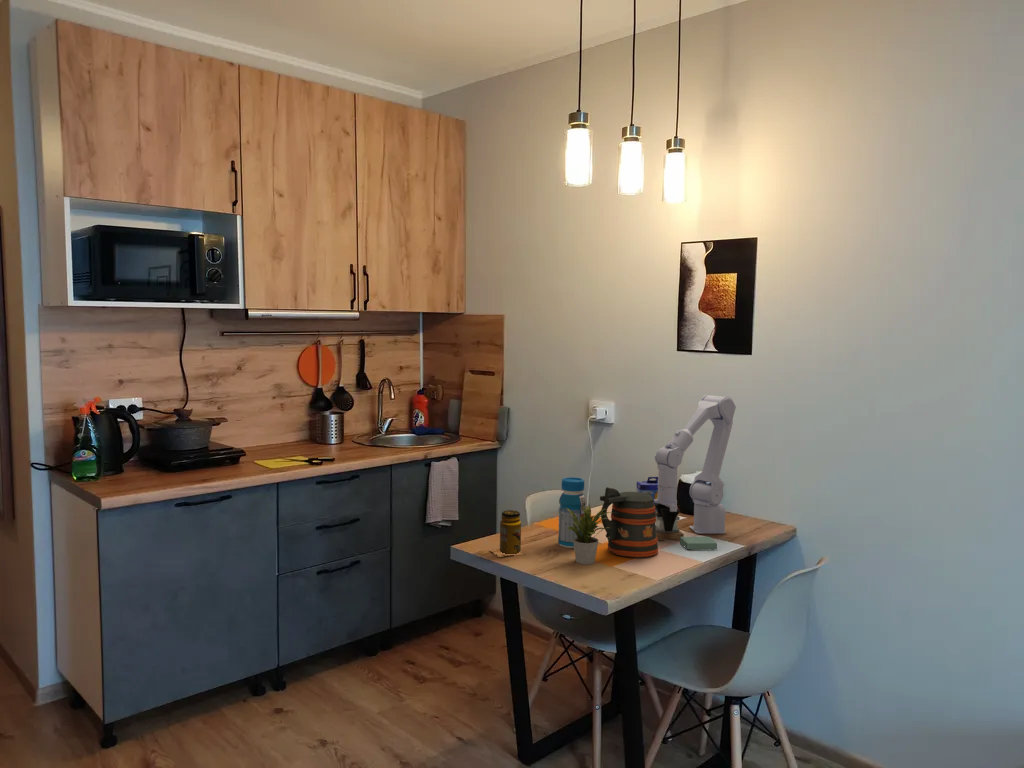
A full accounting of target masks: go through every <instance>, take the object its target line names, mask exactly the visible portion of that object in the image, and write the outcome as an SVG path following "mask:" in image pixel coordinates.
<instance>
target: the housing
mask: <svg viewBox="0 0 1024 768" xmlns="http://www.w3.org/2000/svg"><path fill="white" fill-rule="evenodd" d="M680 519H681V518H680V516H679V514H678V515H677V517H676V519H675V522H674V526H673V530H672V531H665V529H664V520H663V515H662V514H656V522H655V525H656V533H679V530H680V529H679V528H678V521H680Z"/></svg>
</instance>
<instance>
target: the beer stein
mask: <svg viewBox="0 0 1024 768" xmlns="http://www.w3.org/2000/svg"><path fill="white" fill-rule="evenodd" d="M653 500H654V499H653V497H651V496H650V492H648V493H640V492H636V491H621V492H619V491H618V490H617V489H616V488H612V487H605V490H604V495H600V496H599V501H601V502H603V504H602V507H601V510H603V509H605V508H607V509H605V510H604V511H603V512H604V513H607V512H608V508H609V507H610V505H612V506H611V507H612V508H611V511H610V512H614V513H610V519H609V518H608V513H607V514H604V513H602V514H604V515H602V514H601V515H602V516H601V515H600V516H601V517H600V520H601V519H602V520H601V524H602V526H603V528H605V529H606V530H605V529H604V530H605V532H606V534H605V537H606V539H607V542H608V543H607V551H609V553H612V554H614V555H617V556H619V557H625V558H629V559H631V558H633V559H639V558H642V559H643V558H650V557H654V556H656V555H657V554H658V552H659V550H658V549H659V547H658V543H659V541H658V540H657V536H656V512H655V505H654V501H653ZM601 510H600V511H601ZM603 518H608V519H603ZM607 527H609V528H607ZM607 530H608V531H609V532H608V531H607Z"/></svg>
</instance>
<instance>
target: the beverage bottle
mask: <svg viewBox="0 0 1024 768" xmlns="http://www.w3.org/2000/svg"><path fill="white" fill-rule="evenodd" d="M561 490H562V491H563V492H561V495H560V497H559V500H558V503H559V507H558V510H557V512H558V539H557V544H558V545H559V546H560V547H562V548H565V549H574V543H573V539H574V538H575V537H577V535H576V533H575V532H574V531H573V530H567V529H568V527H569V526H571V527H574V526H573V521H574V520H573V519H574V518H573V516H572V515H571V513H570V512H569V510H568V509H570V510H571V511H572V512H573V513H574V514H575V515H576V517H577V519H578V521H579V524H580V518H583V516H584V510H583V506H584V509H585V508H586V507H587V506H586V505H587V499H586V496H585V495H584V491H585V479H584V478H581V477H573V476H572V477H571V476H569V477H563V478H562V479H561ZM582 505H583V506H582ZM566 508H568V509H566ZM568 514H569V515H570V516H571V517H572V518H573V519H572V518H571V517H570V516H569V515H568ZM574 522H575V521H574ZM575 524H576V523H575ZM576 526H577V524H576ZM580 526H581V525H580ZM577 528H578V526H577ZM578 530H579V528H578ZM579 532H580V530H579ZM580 534H581V532H580ZM581 536H582V534H581Z"/></svg>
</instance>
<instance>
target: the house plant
mask: <svg viewBox="0 0 1024 768" xmlns="http://www.w3.org/2000/svg"><path fill="white" fill-rule="evenodd" d="M582 506H583V505H582ZM585 507H586V508H585V509H584V506H583V510H584V516H583V518H580V524H579V521H578V519H577V517H576V515H575V514H574V513H573V512H572V511H571V510H570V509H568V508H566V509H568V510H569V512H570V513H571V515H572V516H573V518H574V519H573V518H572V517H571V516H570V515H569V514H568V515H569V516H570V517H571V518H572V519H573V520H574V521H575V522H574V521H573V526H574V527H571V526H569V527H568V529H567V530H573V531H574V532H575V533H576V535H577V537H575V538H574V539H573V543H574V548H573V549H574V556H575V557H574V558H575V562H576V563H577V564H580V565H586V566H587V565H593V564H594V563H596V556H597V551H598V545H599V539H598V538H596V536H597V535H598V534H599V533H601V532H602V531H603V530H605V531H606V529H605V528H604V527H599V525H598V524H599V523H600V522H602V519H601V516H602V515H604V514H607V515H608V514H611V513H614V512H611V511H610V512H609V511H607V513H604V512H603V511H604V510H605V509H607V508H605V509H603V510H600V511H598V512H597V513H596V514H595V515H592V509H591V504H588V505H587V506H585ZM607 510H608V509H607ZM602 513H604V514H602ZM601 514H602V515H601ZM603 519H609V518H603ZM575 523H576V524H577V526H578V528H579V530H580V532H581V534H582V536H581V534H580V532H579V530H578V528H577V526H576V524H575ZM580 525H581V526H580ZM607 528H609V527H607ZM598 530H600V531H599V532H597V533H596V531H598ZM607 531H608V530H607ZM608 532H609V531H608ZM594 534H595V535H594ZM592 535H594V536H592Z"/></svg>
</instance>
